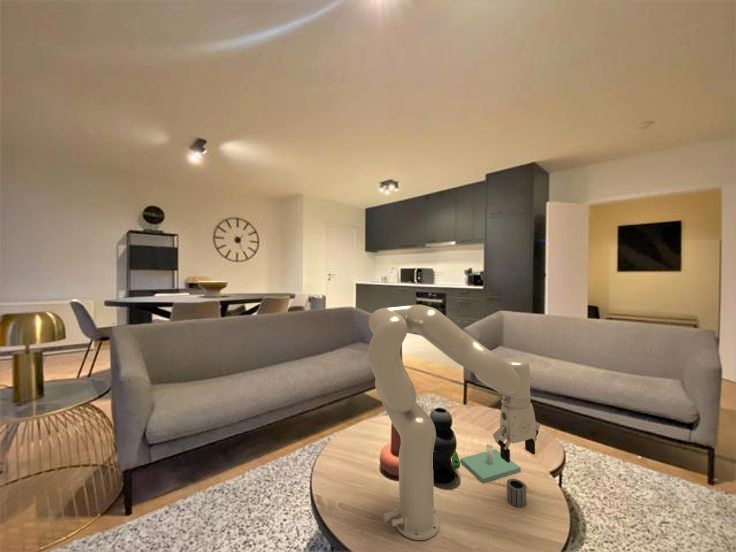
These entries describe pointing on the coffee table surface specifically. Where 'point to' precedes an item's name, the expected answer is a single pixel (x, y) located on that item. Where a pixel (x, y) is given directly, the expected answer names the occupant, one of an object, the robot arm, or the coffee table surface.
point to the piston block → (489, 465)
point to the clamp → (455, 461)
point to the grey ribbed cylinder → (516, 493)
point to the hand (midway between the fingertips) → (517, 455)
